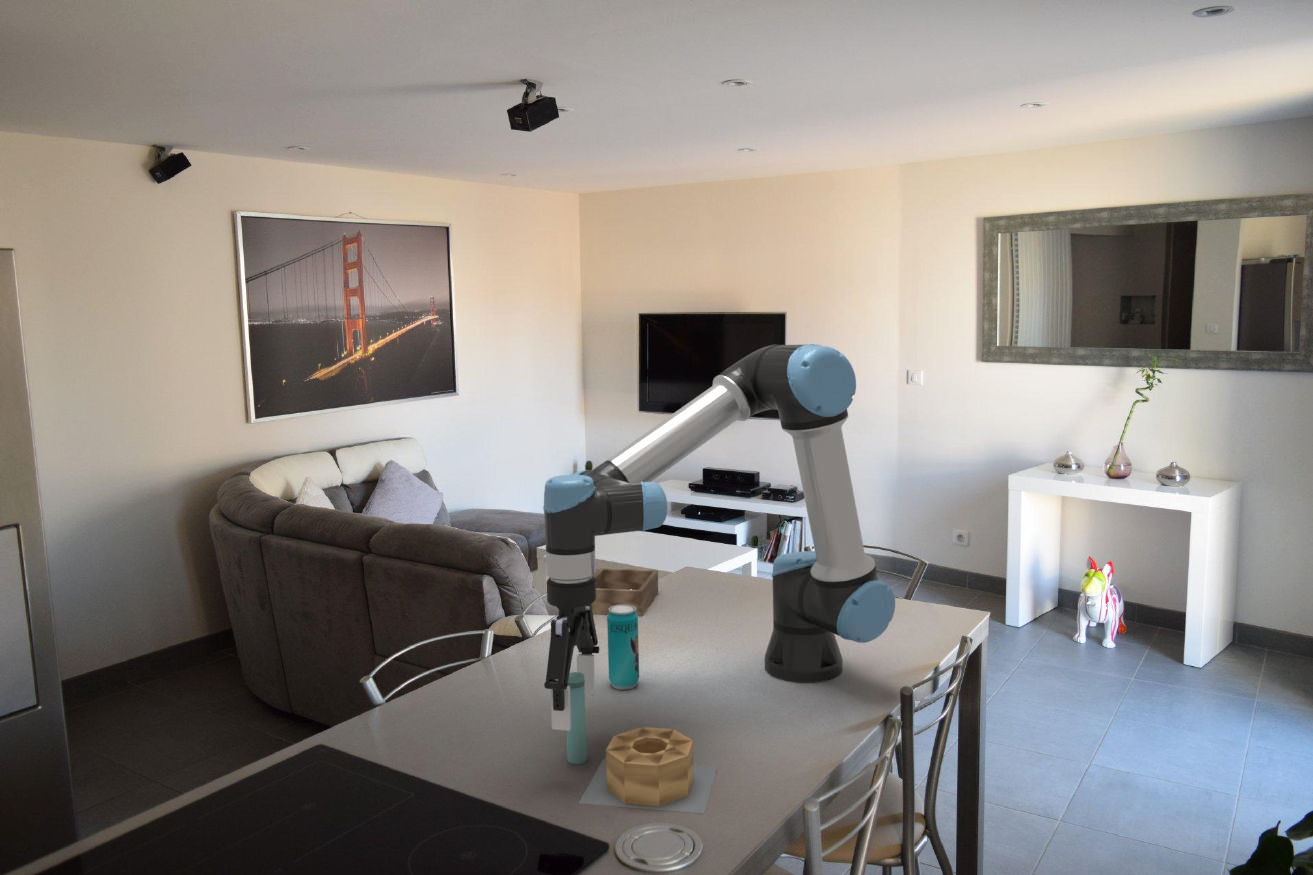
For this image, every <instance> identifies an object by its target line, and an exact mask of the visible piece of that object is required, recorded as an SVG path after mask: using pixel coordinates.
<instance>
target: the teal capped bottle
mask: <svg viewBox="0 0 1313 875" xmlns="http://www.w3.org/2000/svg"><path fill="white" fill-rule="evenodd" d="M584 685H585V679H584V674H582V673H579V672H577V671H573V672H570V673H569V679H568V686H570V710H571V729H570V731H568V730H566V747H567V748H566V750H567V752H566V754H567V757H566V758H567V762H568V763H569V764H571V765H581V764H584V763H586V761H587V760H588V758H587V757H588V756H587V755H588V754H587V752H588V751H587V724H586V722H587V721H586V695H585V687H584Z"/></svg>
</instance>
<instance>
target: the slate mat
mask: <svg viewBox="0 0 1313 875" xmlns="http://www.w3.org/2000/svg"><path fill="white" fill-rule="evenodd" d="M693 766H694V780H693V783H692V786H691V789H690V792H689V795H688V796H686V797H684V798H681V799H678V800H675V801H672V802H670V803H667V804H664V805H661V806H651V805H638V804H626V803H624V802H623V801H621V800H620V799H619V798H617V797H616V796H615V795H614V794H612V793H611V792H610V791H609V790H607V771H606V757H604V758H603V759H602V761H601V762H600V764H599V766H598V768H597V769H596V771H595V773H594V775H593V777H592V779H591V780H590V782H589V784H588V786H587V788H586V790H585V791H584V793H583V795H582V797H581V799H580V800H579V802H578V804H581V805H591V806H593V805H594V806H604V807H616V808H626V809H627V808H629V809H638V810H650V811H651V810H652V811H663V812H677V813H685V814H686V813H687V814H700V815H705V814H706V810H707V806H708V802H709V799H710V796H711V793H712V788H713V786H714V781H715V778H716V774H717V771H718V768H719V766H713V765H703V764H702V765H701V764H700V765H699V764H693Z"/></svg>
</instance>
